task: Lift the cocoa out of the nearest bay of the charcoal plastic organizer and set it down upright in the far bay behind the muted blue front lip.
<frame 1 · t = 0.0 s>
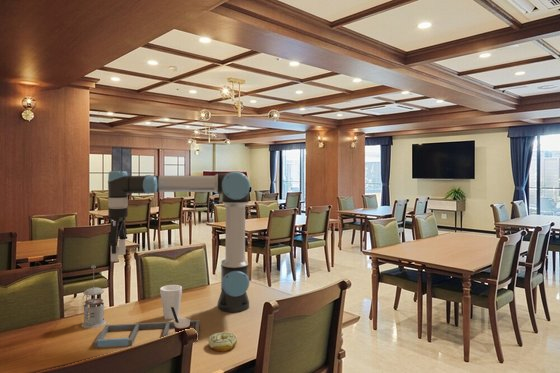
hand: (118, 257, 169), 28 cm above the table, tool pointing down, fingers open, 13 cm apart
decorated donut: (222, 346, 149), on the table
french press: (92, 323, 170), on the table
organizer: (150, 335, 157), on the table
foam cup: (171, 317, 178), on the table
cocoa: (181, 334, 159), resting in organizer
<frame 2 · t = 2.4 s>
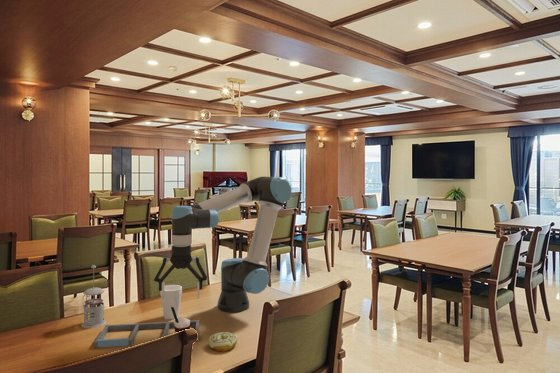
hand: (180, 298, 158), 14 cm above the table, tool pointing down, fingers open, 13 cm apart
nothing on the table moved.
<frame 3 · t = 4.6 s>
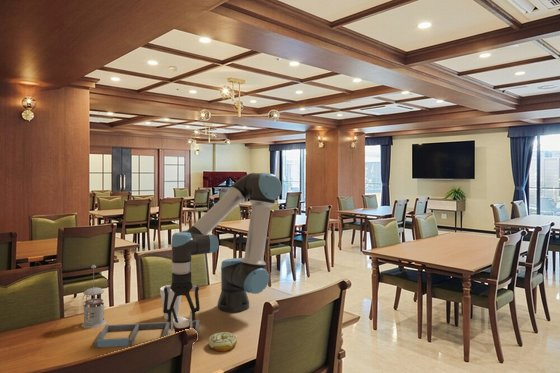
hand: (181, 329, 159), 2 cm above the table, tool pointing down, fingers closed on cocoa, 7 cm apart
cocoa: (181, 334, 159), resting in organizer, touching gripper
everything else where it was.
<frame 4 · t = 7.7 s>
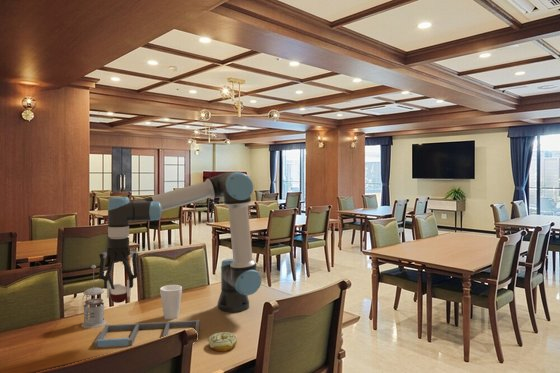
hand: (118, 296, 155), 16 cm above the table, tool pointing down, fingers closed on cocoa, 7 cm apart
cocoa: (118, 301, 155), point 14 cm above the table, touching gripper
everything else where it was.
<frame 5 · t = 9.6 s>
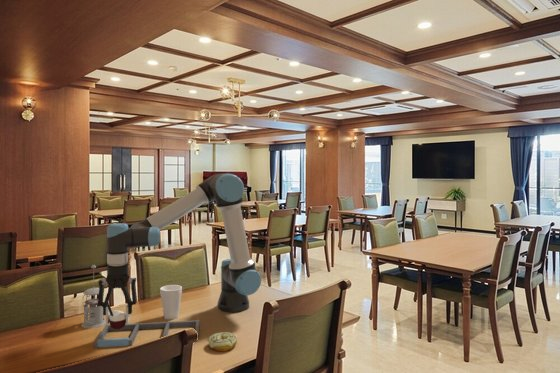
hand: (117, 322, 155), 6 cm above the table, tool pointing down, fingers closed on cocoa, 7 cm apart
cocoa: (117, 328, 155), point 4 cm above the table, touching gripper
everything else where it was.
when the fingers open (3 cm above the table, at t = 11.0 s): cocoa stays where it is, resting in organizer.
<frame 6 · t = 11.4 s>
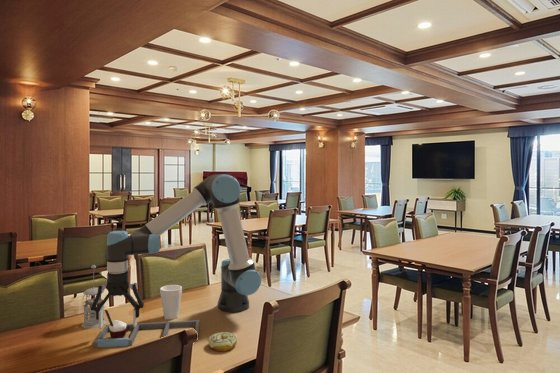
hand: (118, 326, 155), 4 cm above the table, tool pointing down, fingers open, 12 cm apart
cocoa: (117, 338, 155), resting in organizer
everything else where it was.
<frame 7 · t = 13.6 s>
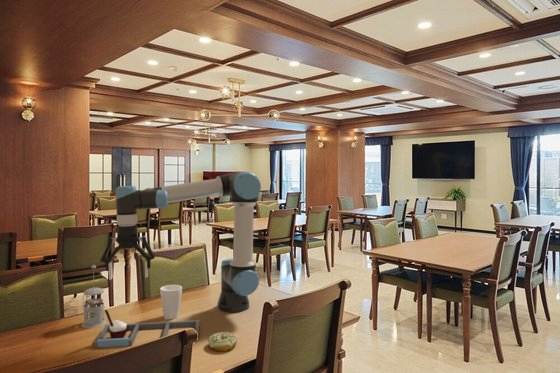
hand: (129, 277, 159), 22 cm above the table, tool pointing down, fingers open, 13 cm apart
nothing on the table moved.
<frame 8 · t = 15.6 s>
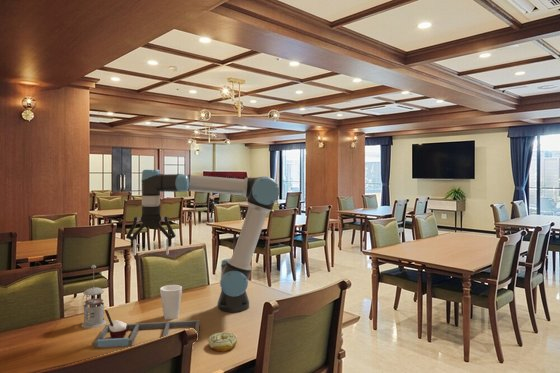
hand: (151, 254, 172), 29 cm above the table, tool pointing down, fingers open, 13 cm apart
nothing on the table moved.
at the end: cocoa inside the target area on the organizer (0.3 cm from its centre), point 0.0 cm above the organizer's base; cocoa tilted 0°; the gripper is holding nothing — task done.
